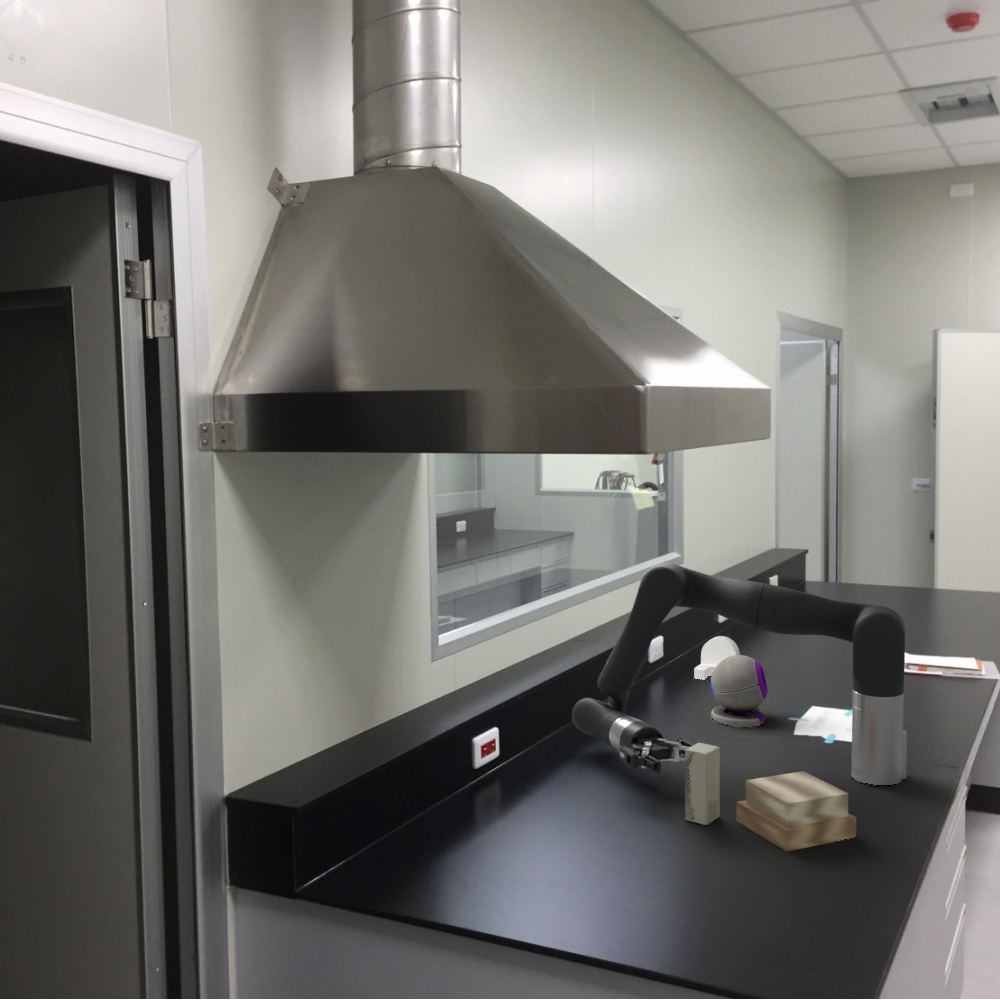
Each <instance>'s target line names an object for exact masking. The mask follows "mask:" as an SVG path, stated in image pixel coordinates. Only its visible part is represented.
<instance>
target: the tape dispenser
mask: <svg viewBox="0 0 1000 1000" xmlns="http://www.w3.org/2000/svg"><path fill="white" fill-rule="evenodd" d="M734 655H741V652H740V649H739V646H738V644H737V643H736V642H735V641H734V640H733V639H731V638H729V637H727V636H724V635H717V636H715V637H713V638H711V639H709V640H708V641H706V643H704V645H703V646H702V648H701V652H700V664H698V665H696V666H695V667H694V669H693V670H694V671H693V673H694V674H693V675H694V676H693V679H694V678H695V679H700V680H701V679H702V680H705V679H706V678H707V677H708V676H712V673H713V671H714V669H715V667H716V666H717V665H718V664H719V663H720V662H721V661H722V660H724V659H725V658H727V657H730V656H734Z"/></svg>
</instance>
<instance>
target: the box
mask: <svg viewBox="0 0 1000 1000" xmlns="http://www.w3.org/2000/svg"><path fill="white" fill-rule="evenodd" d="M720 748H721V747H720V746H717V745H712V744H708V743H703V742H697V743H695V745H693V746H691V747H689V748H688V749H686V750H685V755H684V756H685V761H684V762H685V763H684V767H685V768H684V770H685V771H684V772H685V773H684V791H685V792H684V819H685V820H686V821H689V822H693V823H696V824H700V825H702V826H708V825H709V824H712V822H713V821H715V820H717V819H718V818H720V816H721V814H720V811H721V808H720V806H721V805H720V801H721V800H720V797H721V795H720V793H721V792H720V791H721V790H720V785H721V784H720V782H721V781H720V779H721V776H720V774H721V773H720V771H721V765H720V764H721V754H720V753H721V749H720Z"/></svg>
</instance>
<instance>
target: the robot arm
mask: <svg viewBox="0 0 1000 1000" xmlns="http://www.w3.org/2000/svg"><path fill="white" fill-rule="evenodd" d="M675 607H682V608H689V609H697V610H703V611H707V612H711V613H713V614H715V615H716V614H717V615H719V616H722V617H723V618H726V619H727V620H730V621H733V622H735V623H737V624H740V625H743V626H745V627H749V628H752V629H755V630H756V629H757V630H760V631H765V632H770V633H774V634H783V635H794V636H795V635H797V636H826V637H832V638H834V639H839V640H843V641H846V642H850V643H852V711H851V712H852V713H851V715H852V716H851V717H852V718H851V719H852V720H851V721H852V723H851V725H852V726H851V770H850V771H851V778H852V777H853V778H854V780H855V781H857V782H859V783H861V782H862V784H865V783H868V784H867V785H870V784H873V785H872V786H876V785H892V786H894V785H893V784H896V785H899V784H900V783H899V782H901V783H902V781H903V780H902V779H906V780H907V756H908V755H907V754H908V753H907V748H908V747H907V745H908V731H906V730H905V729H904V696H905V695H904V693H905V690H904V689H905V665H906V664H905V661H906V660H905V657H906V654H905V653H906V629H905V623H904V621H903V619H902V617H901V616H900V614H899V613H897V611H895V610H894V609H892V608H890V607H888V606H884V605H878V604H867V603H858V602H857V603H856V602H849V601H848V602H847V601H841V600H840V601H839V600H835V599H830V598H825V597H822V596H820V595H816V594H812V593H809V592H804V591H801V590H796V589H792V588H789V587H784V586H779V585H774V584H769V583H765V582H759V581H752V580H745V579H739V578H728V577H721V576H715V575H710V574H706V573H704V572H700V571H697V570H693V569H690V568H687V567H684V566H681V565H679V564H675V563H673V562H662V563H658V564H656V565H653V566H651V567H650V568H648V569H647V570H646V571H645V572H644V573H643V574H642V576H641V578H640V582H639V586H638V590H637V592H636V597H635V599H634V602H633V604H632V608H631V611H630V614H629V616H628V618H627V621H626V624H625V625H624V627H623V629H622V632H621V634H620V635H619V637H618V639H617V641H616V644H615V645H614V647H613V649H612V651H611V653H610V655H609V656H608V658H607V660H606V662H605V665H604V666H603V668H602V670H601V671H600V673H599V676H598V679H597V682H596V684H597V687H598V690H599V691H601V692H602V693H604V694H605V695H607V696H608V700H607V702H605V701H601V700H598V699H594V698H592V697H584V698H582V699H580V700H578V701H577V702H576V703H575V705H574V706H573V708H572V711H571V720H572V723H573V724H574V726H575V728H576V729H577V730H578V731H579V732H582V733H584V734H585V735H589V736H591V737H594V738H597V739H599V740H601V741H603V742H605V743H606V744H607V745H609V746H610V747H612V748H613V749H615V750H616V751H617V752H618V753H619V760H620V761H621V762H622V763H624V764H626V766H628V767H630V768H631V769H638V767H641V768H642V769H648V770H649V771H651V772H653V773H655V774H660V773H661V769H662V767H661V765H662V763H661V762H665V761H669V762H674V763H679V762H680V761H684V762H685V750H686V749H688V748H689V747H691V746H693V745H695V744H696V743H694V742H692V741H690V740H688V739H686V738H683V737H678V738H677V741H671V740H667V739H666V738H664V736H663V735H662V733H661V731H659V729H657V728H656V727H654V726H652V725H650V724H648V723H647V722H644V721H643V720H641V719H638V718H636V717H633V716H630V715H629V714H627V713H625V712H626V707H627V703H628V699H629V694H630V693H631V689H632V688H633V686H634V684H635V682H636V681H637V678H638V676H639V674H640V672H641V670H642V668H643V666H644V663H645V660H646V657H647V655H648V652H649V649H650V647H651V644H652V642H653V639H654V637H655V635H656V633H657V631H658V630H659V628H660V626H661V624H662V623H663V622H664V620H665V619H666V617H667V616H668V615H669V614H670V612H671V611H672V610H673V609H674V608H675ZM673 752H674V756H673ZM853 778H852V779H853ZM901 780H902V781H901ZM898 783H899V784H898Z"/></svg>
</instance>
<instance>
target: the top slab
mask: <svg viewBox="0 0 1000 1000" xmlns="http://www.w3.org/2000/svg"><path fill="white" fill-rule="evenodd" d="M745 800H746V803H747V804H749V805H750V806H752V807H754V808H755V809H757V810H759V811H760V812H762V813H764V814H766V815H767V816H769V817H771V818H772V819H774V820H776V821H777V822H779V823H781V824H783V825H784V826H786V827H794V826H800V825H805V824H811V823H816V822H822V821H827V820H833V819H839V818H844V817H848V813H849V793H848V792H846V791H844V790H843V789H840V788H838V787H836V786H834V785H832V784H830V783H828V782H826V781H824V780H822V779H820V778H819V777H816V776H814V775H812V774H810V773H808V772H806V771H796V772H790V773H783V774H777V775H770V776H765V777H759V778H758V777H756V778H752V779H745Z"/></svg>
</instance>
